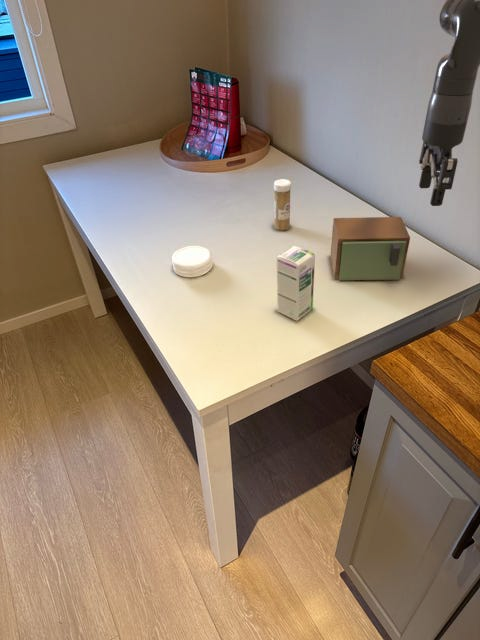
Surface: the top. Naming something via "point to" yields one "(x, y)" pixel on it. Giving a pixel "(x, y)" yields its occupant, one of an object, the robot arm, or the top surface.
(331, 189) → the top surface
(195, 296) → the top surface
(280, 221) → the sprinkles bottle
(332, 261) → the cupboard
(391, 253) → the sliding door
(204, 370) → the top surface
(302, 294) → the syrup box
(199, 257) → the white short cylinder
